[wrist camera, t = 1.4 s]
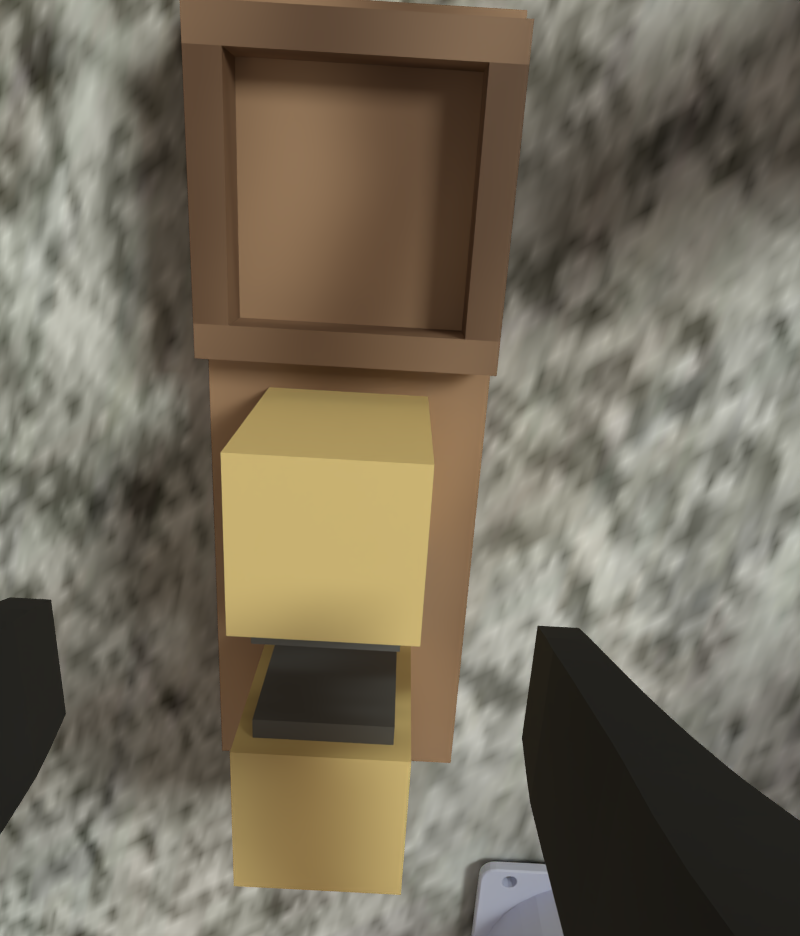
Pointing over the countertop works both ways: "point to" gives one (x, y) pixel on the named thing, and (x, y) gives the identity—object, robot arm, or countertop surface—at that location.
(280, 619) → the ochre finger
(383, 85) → the brown wooden tray
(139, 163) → the countertop surface
